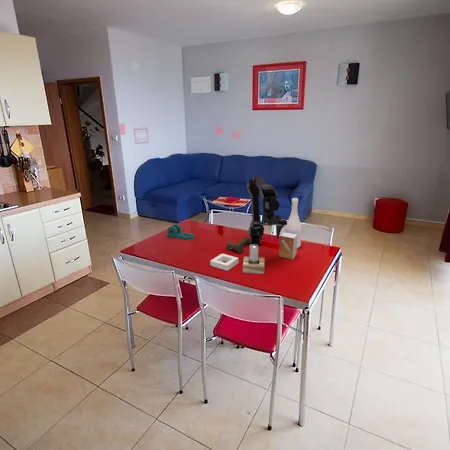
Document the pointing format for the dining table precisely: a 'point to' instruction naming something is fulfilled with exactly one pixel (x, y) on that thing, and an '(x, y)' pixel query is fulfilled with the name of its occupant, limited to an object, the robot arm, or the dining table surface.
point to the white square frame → (219, 264)
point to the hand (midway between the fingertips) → (269, 239)
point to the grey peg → (253, 254)
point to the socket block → (253, 266)
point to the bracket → (179, 233)
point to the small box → (288, 245)
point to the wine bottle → (294, 222)
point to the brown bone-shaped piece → (238, 245)
